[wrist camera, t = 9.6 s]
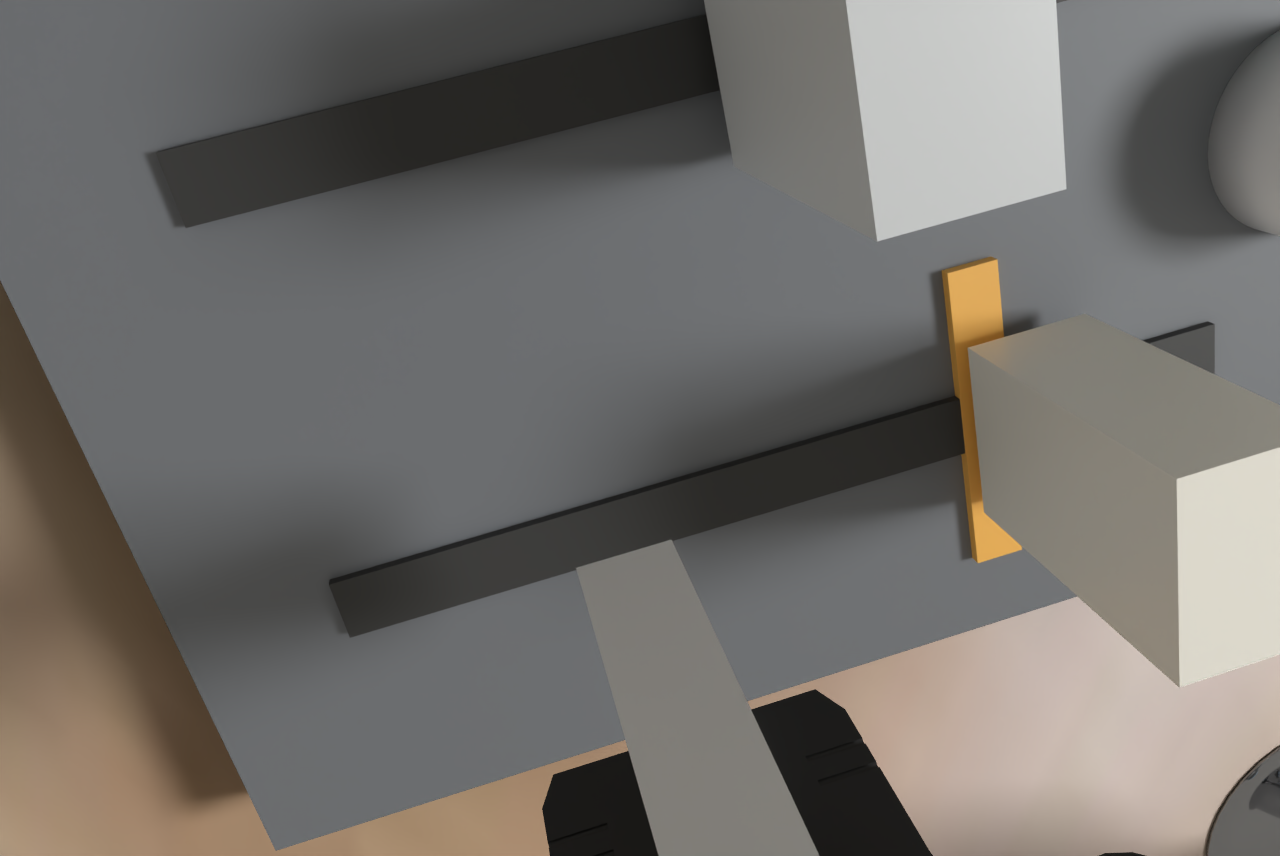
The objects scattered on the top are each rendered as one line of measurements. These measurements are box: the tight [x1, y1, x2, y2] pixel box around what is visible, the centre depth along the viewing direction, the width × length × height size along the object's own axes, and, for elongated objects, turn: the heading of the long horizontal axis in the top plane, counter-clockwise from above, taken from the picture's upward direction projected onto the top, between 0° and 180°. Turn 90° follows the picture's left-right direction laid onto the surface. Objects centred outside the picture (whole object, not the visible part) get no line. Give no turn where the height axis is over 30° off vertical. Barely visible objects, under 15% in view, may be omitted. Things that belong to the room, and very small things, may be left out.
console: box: [0, 0, 1280, 850], centre depth 19 cm, size 18×25×4 cm
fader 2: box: [968, 314, 1280, 688], centre depth 18 cm, size 4×2×6 cm, turn 13°
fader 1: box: [704, 0, 1067, 241], centre depth 15 cm, size 4×2×6 cm, turn 13°
